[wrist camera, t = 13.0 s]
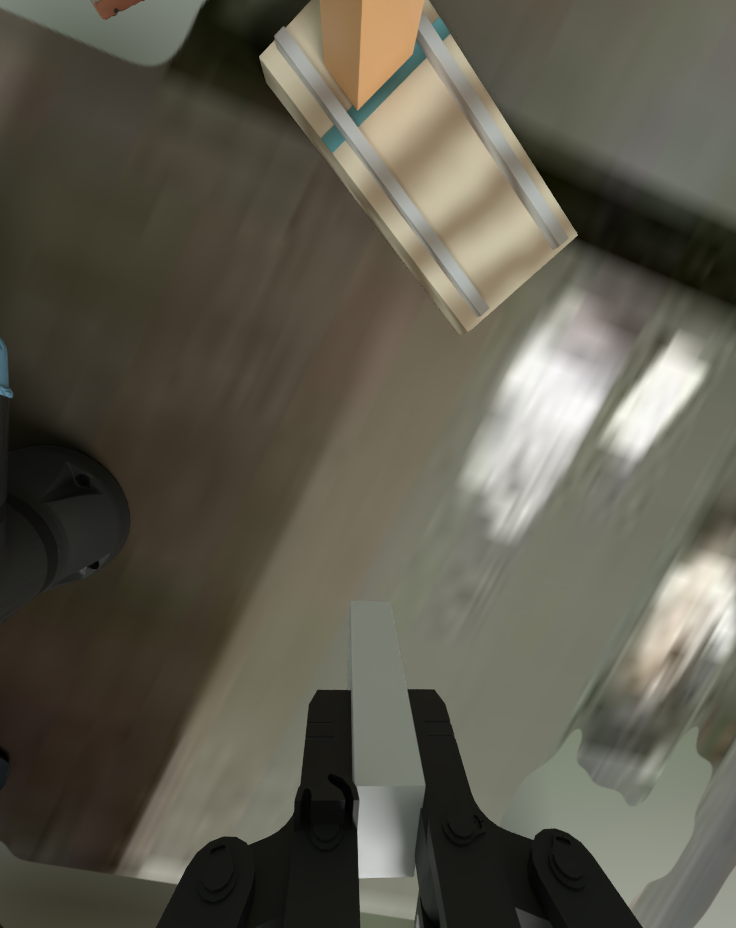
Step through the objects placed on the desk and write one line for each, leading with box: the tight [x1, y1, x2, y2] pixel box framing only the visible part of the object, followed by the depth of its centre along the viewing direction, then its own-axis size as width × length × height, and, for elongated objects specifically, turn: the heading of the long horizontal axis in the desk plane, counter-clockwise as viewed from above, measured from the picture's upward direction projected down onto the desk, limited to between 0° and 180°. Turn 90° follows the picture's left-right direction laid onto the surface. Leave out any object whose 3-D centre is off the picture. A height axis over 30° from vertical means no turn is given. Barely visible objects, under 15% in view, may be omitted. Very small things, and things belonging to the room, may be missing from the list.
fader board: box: [259, 0, 578, 335], centre depth 34 cm, size 28×13×4 cm, turn 41°
